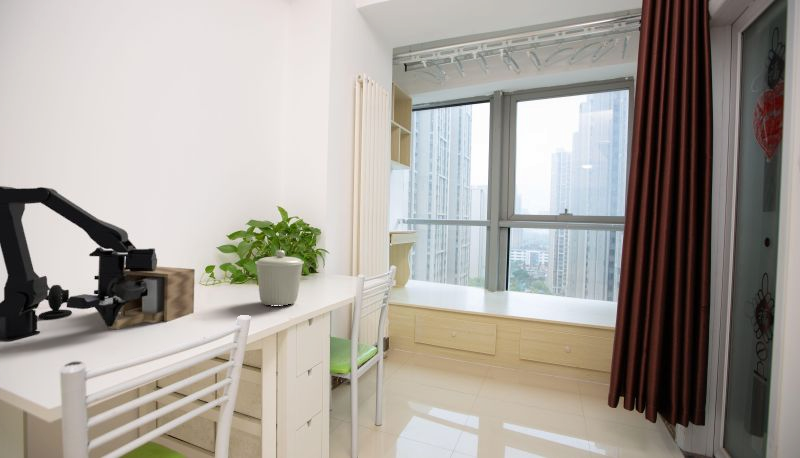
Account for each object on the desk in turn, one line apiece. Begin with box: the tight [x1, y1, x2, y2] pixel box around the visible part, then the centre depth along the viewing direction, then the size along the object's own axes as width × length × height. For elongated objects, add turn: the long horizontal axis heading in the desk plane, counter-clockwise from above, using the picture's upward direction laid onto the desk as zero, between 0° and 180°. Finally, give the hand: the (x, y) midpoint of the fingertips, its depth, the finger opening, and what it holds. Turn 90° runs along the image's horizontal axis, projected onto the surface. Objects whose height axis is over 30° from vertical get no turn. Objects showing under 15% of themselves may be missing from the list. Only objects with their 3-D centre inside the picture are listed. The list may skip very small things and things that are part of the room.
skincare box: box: [142, 276, 165, 314], centre depth 112 cm, size 6×4×12 cm
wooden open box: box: [120, 266, 196, 323], centre depth 114 cm, size 11×17×15 cm, turn 80°
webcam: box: [37, 284, 73, 321], centre depth 108 cm, size 8×8×10 cm
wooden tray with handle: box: [108, 307, 164, 330], centre depth 108 cm, size 18×11×3 cm, turn 168°
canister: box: [254, 249, 305, 306], centre depth 134 cm, size 18×18×21 cm
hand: (109, 326), depth 98 cm, fingers closed
